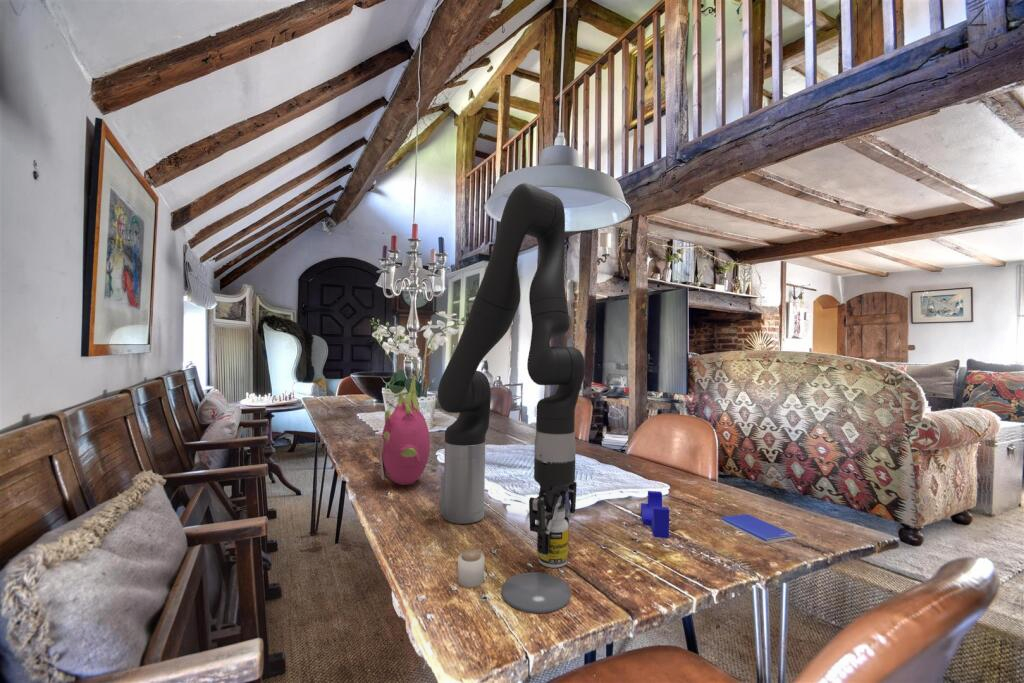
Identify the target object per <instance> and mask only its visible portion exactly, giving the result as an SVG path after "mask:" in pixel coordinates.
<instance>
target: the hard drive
mask: <svg viewBox="0 0 1024 683" xmlns="http://www.w3.org/2000/svg"><path fill="white" fill-rule="evenodd" d="M720 522H721V523H723V524H725V525H727V526H729V527H731V528H733V529H734V530H736V531H738V532H741V533H743V534H745V535H747V536H749V537H750V538H752V537H753V539H754V538H755V540H756V539H758V540H760V541H762V542H764V543H771V542H777V541H783V540H788V539H795V538H796V539H797V535H796V534H793V533H792V532H789V531H787V530H785V529H784V528H780V527H778V526H777V525H776V526H775V525H773V524H771V523H769V522H767V521H765V520H762V519H760V518H758V517H755V516H752V515H751V514H748V513H746V514H745V513H744V514H738V515H730V516H729V515H728V516H722V517H721V518H720ZM758 540H757V541H758ZM760 541H759V542H760ZM762 542H761V543H762ZM764 543H763V544H764Z"/></svg>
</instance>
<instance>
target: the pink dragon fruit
mask: <svg viewBox="0 0 1024 683" xmlns="http://www.w3.org/2000/svg"><path fill="white" fill-rule="evenodd" d="M419 402H420V401H419V400H418V395H417V390H416V376H415V375H412V376H411V383H410V387H409V391H408V393H407V395H406V396H405V397H404V394H403V392H399V393H398V399H397V403H396V406H395V408H394V410H393V412H392V413H391V411H390V410H388V409H387V410H385V412H384V423H385V424H384V427H383V429H382V434H381V437H380V438H379V464H380V469H381V470H380V473H381V480H385V479H386V476H387V475H388V476H389V478H390V479H391V480H392V481H393V482H394V483H395V484H397V485H401V486H409V485H412V484H414V483H415V482H416V481H418V480H419V478H420V477H421V476H422V474H423V473H424V471H425V469H426V466H427V463H428V461H429V456H430V449H431V438H430V432H429V429H428V428H429V427H428V424H427V421H426V419H425V416H424V415H423V414H422V412H421V409H420V408H421V407H420V403H419Z"/></svg>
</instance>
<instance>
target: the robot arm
mask: <svg viewBox="0 0 1024 683" xmlns="http://www.w3.org/2000/svg"><path fill="white" fill-rule="evenodd" d="M565 233H566V214H565V206H564V202H563V201H562V199H561V198H560V197H558V196H557V195H556V194H553V193H551V192H550V191H546V190H544V189H542V188H539V187H537V186H534V185H532V184H529V183H524V182H523V183H519V184H518V185H517V186H516V187H515V188H513V190H512V191H511V192H510V194H509V196H508V197H507V200H506V202H505V205H504V208H503V210H502V214H501V219H500V221H499V225H498V229H497V233H496V237H495V241H494V244H493V248H492V250H491V255H490V257H489V259H488V260H489V261H488V263H487V266H486V269H485V271H484V274H483V277H482V279H481V282H480V285H479V287H478V289H477V292H476V295H475V298H474V300H473V302H472V304H471V308H470V312H469V315H468V317H467V320H466V323H465V325H464V328H463V330H462V332H461V334H460V338H459V340H458V342H457V345H456V347H455V349H454V351H453V353H452V355H451V357H450V359H449V361H448V363H447V366H446V367H445V369H444V370H443V371H444V372H443V373H442V376H441V378H440V380H439V384H438V388H437V401H438V404H439V406H440V408H441V409H442V410H443V411H444V412H447V413H449V414H451V413H453V414H455V413H456V414H457V413H458V417H457V419H455V421H454V422H453V423H451V425H449V426H448V427H446V429H445V430H444V466H443V467H444V468H443V469H444V471H443V473H441V475H440V496H439V497H440V498H439V500H440V504H439V506H440V507H439V509H440V510H439V515H440V516H441V517H443V519H444V520H445V521H447V522H449V523H452V524H461V525H463V524H465V525H466V524H472V523H474V524H475V523H477V522H479V521H482V519H484V518H485V494H486V493H485V490H486V489H485V485H486V484H485V483H486V482H485V480H486V478H485V477H486V475H485V474H486V435H487V432H488V430H489V427H490V426H489V425H490V416H491V402H492V393H491V392H492V390H491V385H490V381H489V379H488V377H487V376H486V374H485V373H484V372H482V371H480V370H477V369H478V368H479V366H480V364H481V362H482V361H483V359H484V358H485V357H486V356H487V354H488V353H489V352H490V351H491V350H492V349H494V348H495V346H496V345H497V344H498V343H499V342H500V341H501V340H502V339H503V338H504V336H505V335H506V334H507V332H508V331H509V330H510V327H511V325H512V323H513V321H514V318H515V316H516V314H517V312H518V308H519V305H520V302H521V285H520V284H521V283H520V277H519V270H518V259H519V254H520V251H521V248H522V245H523V241H524V239H525V237H526V236H530V237H533V238H534V239H535V238H536V241H537V244H538V249H539V262H538V266H537V267H536V268H537V269H536V271H535V273H534V275H533V278H532V280H531V283H530V286H529V293H528V294H529V295H528V297H529V298H528V299H529V300H528V302H529V308H530V311H529V312H530V317H531V336H530V344H529V351H528V357H527V364H526V365H527V367H526V368H527V373H528V377H530V379H531V381H533V383H535V384H536V385H538V386H558V387H557V389H556V391H555V392H554V394H552V395H550V396H547V397H543V398H541V399H539V400H538V401H537V404H536V416H535V417H536V419H535V423H536V424H535V426H536V427H535V437H534V447H533V448H534V450H533V451H534V452H533V454H534V455H533V456H534V458H533V461H534V462H533V465H534V466H533V479H534V481H535V482H536V483H537V484H538V485H539V491H538V496H537V497H530V498H529V499H528V510H529V512H528V514H529V515H528V516H529V517H528V518H529V531H530V532H534V533H537V534H536V535H537V537H536V539H537V543H536V544H537V545H536V549H537V550H536V551H537V553H538V552H539V553H541V554H544V555H547V554H549V553H550V529H551V525H552V522H553V521H555V520H556V516H557V511H558V510H559V509H561V508H562V507H564V508H565V518H564V519H565V520H566V521H567V522H568V526H569V527H570V520H571V518H572V514H575V512H576V507H577V506H576V503H577V486H578V484H577V482H576V446H577V445H576V436H575V435H576V434H575V421H576V420H575V417H576V413H575V412H576V407H577V403H578V399H579V395H580V391H581V388H582V385H583V382H584V379H585V374H586V360H585V358H584V355H583V353H582V351H580V349H578V348H577V347H575V346H574V347H573V346H551V338H556V337H560V336H562V335H564V334H566V333H567V332H568V331H569V330H570V316H569V309H568V301H567V296H566V286H565V245H566V243H565V240H566V239H565V236H566V234H565ZM545 511H546V512H549V513H551V514H550V515H547V514H545ZM545 519H547V523H546V526H545ZM569 533H570V529H569V530H568V539H569V537H570V536H569Z"/></svg>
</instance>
